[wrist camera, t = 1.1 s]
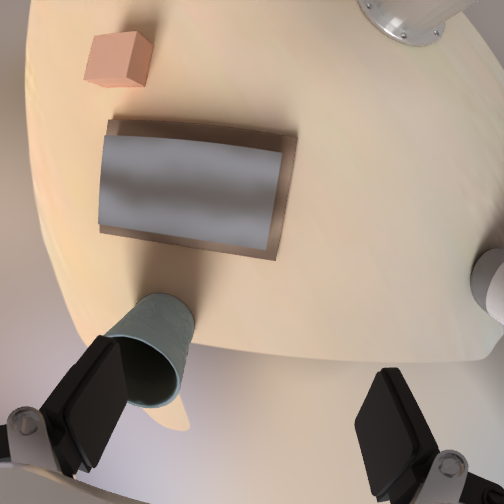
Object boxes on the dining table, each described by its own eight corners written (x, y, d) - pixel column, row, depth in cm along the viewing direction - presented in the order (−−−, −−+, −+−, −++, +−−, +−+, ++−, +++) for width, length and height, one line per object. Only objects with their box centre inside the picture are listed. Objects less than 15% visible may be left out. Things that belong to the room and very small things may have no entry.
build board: (112, 120, 31) (95, 117, 28) (296, 138, 32) (300, 136, 28) (103, 230, 36) (87, 239, 32) (275, 258, 36) (276, 270, 32)
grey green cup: (142, 350, 41) (112, 405, 30) (120, 288, 38) (77, 335, 27) (208, 347, 40) (191, 409, 29) (190, 280, 37) (162, 332, 26)
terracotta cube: (114, 48, 28) (94, 35, 23) (153, 46, 29) (137, 31, 23) (106, 88, 30) (83, 79, 25) (145, 87, 30) (126, 77, 25)
